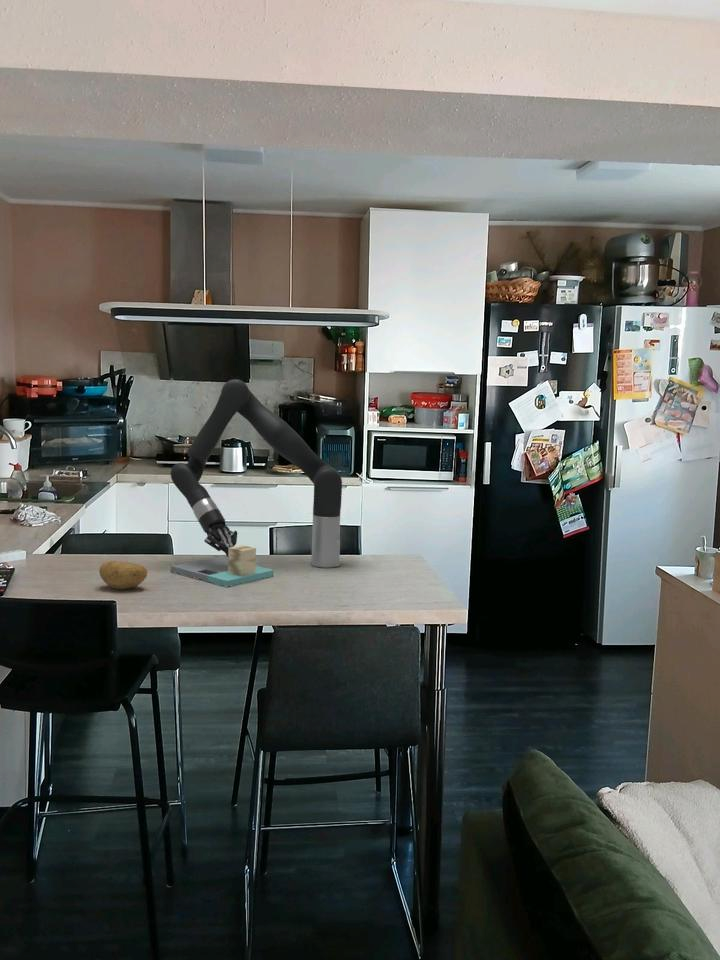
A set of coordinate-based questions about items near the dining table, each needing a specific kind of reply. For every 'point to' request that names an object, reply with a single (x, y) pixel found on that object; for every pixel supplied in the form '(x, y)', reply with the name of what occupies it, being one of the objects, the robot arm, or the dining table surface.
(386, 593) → the dining table surface
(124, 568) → the potato
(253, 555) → the maple block
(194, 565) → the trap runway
